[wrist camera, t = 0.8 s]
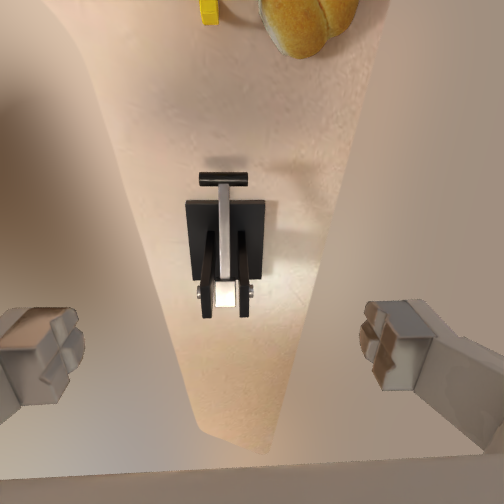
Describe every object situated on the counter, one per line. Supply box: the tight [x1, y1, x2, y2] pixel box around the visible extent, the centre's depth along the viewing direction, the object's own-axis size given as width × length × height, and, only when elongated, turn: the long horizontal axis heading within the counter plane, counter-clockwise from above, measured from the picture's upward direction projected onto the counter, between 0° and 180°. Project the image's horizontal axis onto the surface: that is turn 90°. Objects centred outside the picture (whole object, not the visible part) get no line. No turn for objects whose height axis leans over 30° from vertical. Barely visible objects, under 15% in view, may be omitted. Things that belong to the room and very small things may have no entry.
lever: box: [199, 172, 248, 307], centre depth 33 cm, size 14×5×2 cm, turn 0°
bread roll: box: [258, 0, 359, 59], centre depth 27 cm, size 8×9×4 cm
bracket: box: [185, 200, 265, 318], centre depth 37 cm, size 12×10×13 cm
